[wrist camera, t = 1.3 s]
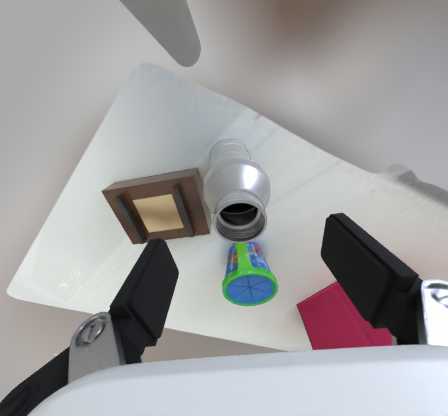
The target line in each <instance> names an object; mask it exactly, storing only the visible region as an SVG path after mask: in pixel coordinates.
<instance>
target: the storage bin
mask: <svg viewBox="0 0 448 416" xmlns="http://www.w3.org/2000/svg"><path fill="white" fill-rule="evenodd" d="M297 307H298V310H299V312H300V315H301V317H302V320H303V323H304V326H305V329H306V331H307V334H308V337H309V340H310V343H311V345H312V348H313V350H324V349H340V348H356V347H373V346H392V334H391V333H390V332H389V331H388V329H387V328H381V329H373V327H372V326H371V325H370V323H369V322H368V321H365V320H364V319H363V318H362V317H361V315H360V314H359V312H358V311H357V309H356V308H355V306H354V305H353V303H352V302H351V300H350V299H349V297H348V296H347V295H346V293H345V292H344V290H343V289H342V287H341V286H340V284H339V283H338V282H336V283H334V284H332V285H331V286H329V287H327V288H325V289H323V290H322V291H320V292H318V293H316V294H314V295H313V296H311V297H309V298H308V299H306V300H304V301H302V302H301V303H299V304H297Z"/></svg>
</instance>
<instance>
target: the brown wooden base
mask: <svg viewBox="0 0 448 416" xmlns="http://www.w3.org/2000/svg"><path fill="white" fill-rule="evenodd" d="M102 193H103V195H104V196H105V198H106V200H107V201H108V203H109V205H110V206H111V208H112V210H113V212H114V213H115V215H116V217H117V218H118V220H119V222H120V223H121V225H122V227H123V228H124V230H125V232H126V233H127V235H128V237H129V238H130V240H131V242H132V243H133V244H144V243H147V242H149V240H150V239H155V238H161V239H162V240H169V239H176V238H183V237H194V236H198V235H205V234H210V230H211V218H210V215H209V211H208V207H207V205H206V203H205V201H204V199H203V195H202V183H201V179H200V176H199V172H198V168H196V169H190V170H184V171H178V172H172V173H167V174H161V175H155V176H149V177H144V178H138V179H132V180H126V181H121V182H115V183H113V184H112V185H110V186H109V187H107V188H106V189H104V190H102Z"/></svg>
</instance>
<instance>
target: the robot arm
mask: <svg viewBox="0 0 448 416" xmlns="http://www.w3.org/2000/svg"><path fill="white" fill-rule="evenodd" d="M321 257H322V259H323V261H324V262H325V264H326V265H327V267H328V268H329V270H330V271H331V272H332V274H333V275H334V277H335V278H336V280H337V281H338V283H339V284H340V286H341V287H342V289H343V290H344V292H345V293H346V295H347V296H348V297H349V299H350V300H351V302H352V303H353V305H354V306H355V308H356V309H357V311H358V312H359V314H360V315H361V317H362V318H363V319H364V320H365V321H368V322H369V323H370V325H371V326H372V327H373V329H381V328H387V329H388V331H389V332H390V333H391V334H392V346H373V347H356V348H340V349H324V350H309V351H293V352H279V353H265V354H250V355H237V356H222V357H209V358H195V359H181V360H168V361H157V362H145V359H144V355H143V352H144V349H145V347H148V346H156V342H157V339H158V338H160V337H161V334H162V331H163V328H164V324H165V321H166V317H167V314H168V310H169V307H170V303H171V300H172V296H173V293H174V289H175V286H176V282H177V279H178V275H179V271H178V268H177V266H176V264H175V262H174V259H173V257H172V255H171V253H170V250H169V248H168V246H167V244H166V242H165V240H162V239H161V238H155V239H150V240H149V242H148V244H147V245H146V247H145V249H144V250H143V252H142V254H141V255H140V257H139V259H138V260H137V262H136V264H135V265H134V267H133V269H132V270H131V272H130V274H129V275H128V277H127V279H126V280H125V282H124V284H123V285H122V287H121V289H120V290H119V292H118V294H117V295H116V297H115V298H114V300H113V302H112V303H111V305H110V310H109V311H108V313H107V312H100V313H97V314H95V315H93V316H91V317H90V318H89V319H87V320H86V321H84V323H82V324H81V325H80V326H79V328H78V329H77V330H76V332H75V333H74V335H73V337H72V339H71V342H70V346H69V347H68V348H67V349H66V350H64V351H63V352H61V353H60V354H59V355H57V356H56V357H55V358H53V359H52V360H51V361H50V362H48V363H47V364H46V365H44V366H43V367H42V368H40V369H39V370H38V371H36V372H35V373H34V374H32V375H31V376H30V377H28V378H27V379H26V380H24V381H23V382H22V383H20V384H19V385H18V386H17V387H15V388H14V389H13V390H12V391H11V392H10V393H9V394H8V395H7V396H6V397H5V398H4V399H3V400H2V402H1V403H0V416H448V282H447V281H443V280H436V279H430V280H425V281H424V282H423V281H422V280H421V279H420V278H419V277H418V276H419V275H418V274H417V273H416V272H414V271H413V270H412V269H411V268H410V267H408V266H407V265H406V264H405V263H403V262H402V261H401V260H400V259H399V258H397V257H396V256H395V255H394V254H392V253H391V252H390V251H389V250H388V249H386V248H385V247H384V246H383V245H382V244H380V243H379V242H378V241H377V240H375V239H374V238H373V237H372V236H371V235H369V234H368V233H367V232H366V231H365V230H363V229H362V228H361V227H360V226H358V225H357V224H356V223H355V222H354V221H352V220H351V219H350V218H349V217H348V216H346V215H345V214H344V213H337V214H331V215H330V216H329V217H328V218H326V223H325V229H324V236H323V242H322V248H321Z"/></svg>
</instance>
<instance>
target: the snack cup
mask: <svg viewBox="0 0 448 416" xmlns="http://www.w3.org/2000/svg"><path fill="white" fill-rule="evenodd" d="M222 286H223V295H224V296H225V298H226V299H227V300H228V301H230V302H232V303H234V304H237V305H241V306H255V305H259V304H263V303H265V302H267V301H269V300H271V299H272V298H273V297H274V296H275V295H276V293H277V290H278V284H277V281H276V278H275V276H274V275H273V274H272V273H271V271H270V269H269V267H268V265H267V263H266V261H265V259H264V257H263V255H262V253H261V251H260V249H259V248H258V246H257V245H256V244H253V243H250V242H246V243H234V246H233V247H232V248H231V249H230V251H229V255H228V262H227V268H226V274H225V279H224V280H223V283H222Z"/></svg>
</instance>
